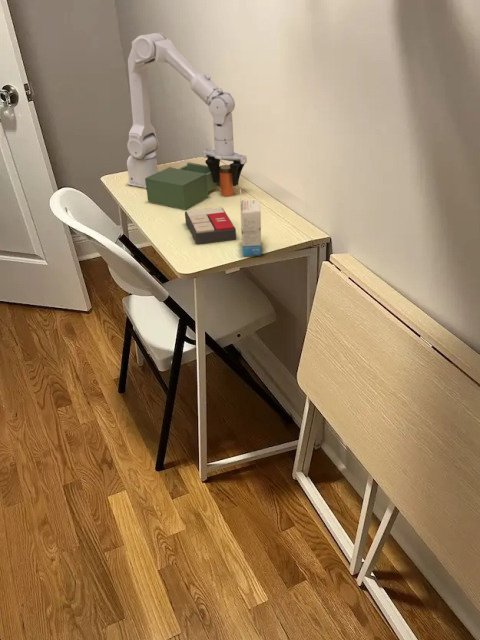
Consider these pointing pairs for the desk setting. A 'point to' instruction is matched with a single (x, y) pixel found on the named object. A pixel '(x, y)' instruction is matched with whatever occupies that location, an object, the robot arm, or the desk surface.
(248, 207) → the ink box
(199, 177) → the cabinet
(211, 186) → the drawer
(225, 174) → the spice jar
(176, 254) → the desk surface
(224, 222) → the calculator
